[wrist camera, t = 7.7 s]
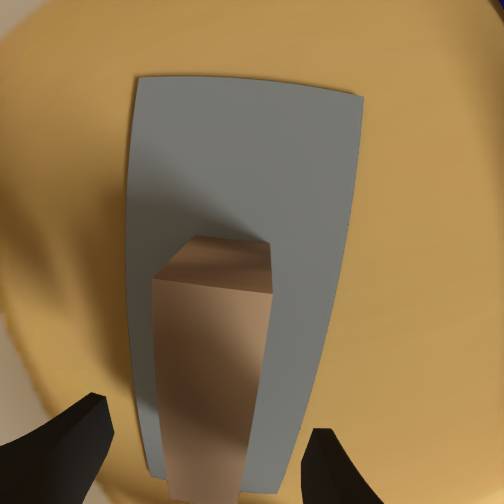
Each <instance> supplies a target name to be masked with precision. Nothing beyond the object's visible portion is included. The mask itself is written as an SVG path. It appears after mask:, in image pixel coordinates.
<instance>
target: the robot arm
mask: <svg viewBox="0 0 504 504" xmlns="http://www.w3.org/2000/svg"><path fill="white" fill-rule="evenodd" d="M113 436H114V429H113V425H112V421H111V417H110V413H109V409H108V404H107V400H106V396H102V395H99V394H96V393H92V392H91V393H89V394H88V395H86V396H85V397H83V398H82V399H81V400H79V401H78V402H76V403H75V404H73V405H72V406H71V407H69V408H68V409H66V410H65V411H63V412H62V413H61V414H59V415H58V416H56V417H54V418H53V419H51V420H50V421H48V422H47V423H45V424H44V425H42V426H40V427H39V428H37V429H35V430H34V431H32V432H30V433H28V434H26V435H24V436H22V437H20V438H19V439H16V440H14V441H12V442H10V443H7V444H5V445H2V446H0V504H82V503H83V501H84V498H85V496H86V494H87V492H88V490H89V489H90V487H91V485H92V483H93V481H94V479H95V477H96V475H97V473H98V471H99V469H100V467H101V466H102V464H103V462H104V460H105V458H106V456H107V453H108V451H109V448H110V445H111V442H112V439H113ZM301 490H302V498H303V504H384V503H383V502H382V501H381V500H380V498H379V497H378V496H377V495H376V494H375V493H374V491H373V490H372V489H371V488H370V486H369V485H368V484H367V483H366V481H365V480H364V479H363V477H362V476H361V474H360V473H359V472H358V470H357V469H356V467H355V466H354V465H353V463H352V461H351V460H350V458H349V457H348V455H347V454H346V452H345V450H344V449H343V447H342V446H341V444H340V442H339V440H338V439H337V437H336V435H335V433H334V432H333V430H332V429H331V428H313V431H312V434H311V437H310V440H309V442H308V445H307V448H306V450H305V453H304V456H303V458H302V461H301Z"/></svg>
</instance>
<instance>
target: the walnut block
mask: <svg viewBox="0 0 504 504" xmlns="http://www.w3.org/2000/svg"><path fill="white" fill-rule="evenodd" d="M272 297H273V286H272V268H271V250H270V244H266V243H257V242H249V241H240V240H231V239H223V238H214V237H205V236H196V235H194V236H193V237H192V238H191V239H190V240H189V241H188V242H187V243H186V244H185V245H184V246H183V247H182V248H181V249H180V250H179V251H178V252H177V253H176V254H175V255H174V256H173V257H172V258H171V259H170V260H169V261H168V262H167V263H166V265H165V266H164V267H163V268H162V269H161V270H160V271H159V272H158V273H157V274H156V275H155V276H154V277H153V278H152V317H153V345H154V364H155V379H156V392H157V403H158V414H159V423H160V432H161V440H162V448H163V455H164V462H165V469H166V475H167V482H168V488H169V493H170V499H172V500H177V501H182V502H187V503H193V504H237V503H238V498H239V493H240V487H241V482H242V477H243V472H244V466H245V461H246V455H247V450H248V444H249V439H250V433H251V428H252V422H253V416H254V410H255V404H256V399H257V393H258V387H259V381H260V375H261V368H262V362H263V356H264V350H265V343H266V337H267V330H268V324H269V317H270V311H271V304H272Z"/></svg>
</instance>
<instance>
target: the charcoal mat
mask: <svg viewBox="0 0 504 504" xmlns="http://www.w3.org/2000/svg"><path fill="white" fill-rule="evenodd" d="M363 102H364V97H362V96H358V95H353V94H349V93H344V92H339V91H334V90H328V89H323V88H317V87H311V86H304V85H297V84H290V83H282V82H274V81H265V80H254V79H242V78H226V77H201V76H163V77H139V81H138V87H137V94H136V101H135V108H134V116H133V124H132V133H131V142H130V153H129V165H128V179H127V198H126V230H125V265H126V297H127V316H128V330H129V342H130V353H131V363H132V372H133V380H134V388H135V395H136V402H137V408H138V415H139V421H140V427H141V432H142V438H143V443H144V448H145V453H146V458H147V462H148V467H149V471H150V476H151V477H155V478H159V479H164V480H167V475H166V469H165V462H164V455H163V448H162V440H161V432H160V423H159V414H158V403H157V392H156V379H155V364H154V345H153V317H152V278H153V277H154V276H155V275H156V274H157V273H158V272H159V271H160V270H161V269H162V268H163V267H164V266H165V265H166V263H167V262H168V261H169V260H170V259H171V258H172V257H173V256H174V255H175V254H176V253H177V252H178V251H179V250H180V249H181V248H182V247H183V246H184V245H185V244H186V243H187V242H188V241H189V240H190V239H191V238H192V237H193V236H194V235H196V236H205V237H214V238H223V239H231V240H240V241H249V242H257V243H266V244H270V250H271V268H272V286H273V297H272V304H271V311H270V317H269V324H268V330H267V337H266V343H265V350H264V356H263V362H262V368H261V375H260V381H259V387H258V393H257V399H256V404H255V410H254V416H253V422H252V428H251V433H250V439H249V444H248V450H247V455H246V461H245V466H244V472H243V477H242V482H241V487H240V492H249V493H263V494H277V493H278V490H279V488H280V485H281V482H282V480H283V477H284V474H285V472H286V469H287V466H288V463H289V460H290V457H291V454H292V451H293V448H294V445H295V442H296V439H297V436H298V433H299V430H300V427H301V424H302V421H303V417H304V414H305V411H306V408H307V404H308V401H309V397H310V394H311V390H312V387H313V383H314V380H315V376H316V373H317V369H318V365H319V361H320V357H321V354H322V350H323V346H324V342H325V338H326V334H327V329H328V325H329V321H330V317H331V312H332V308H333V303H334V299H335V294H336V289H337V284H338V280H339V275H340V270H341V264H342V259H343V254H344V248H345V243H346V237H347V231H348V225H349V219H350V213H351V206H352V200H353V193H354V186H355V178H356V171H357V163H358V154H359V145H360V136H361V125H362V114H363Z"/></svg>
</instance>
